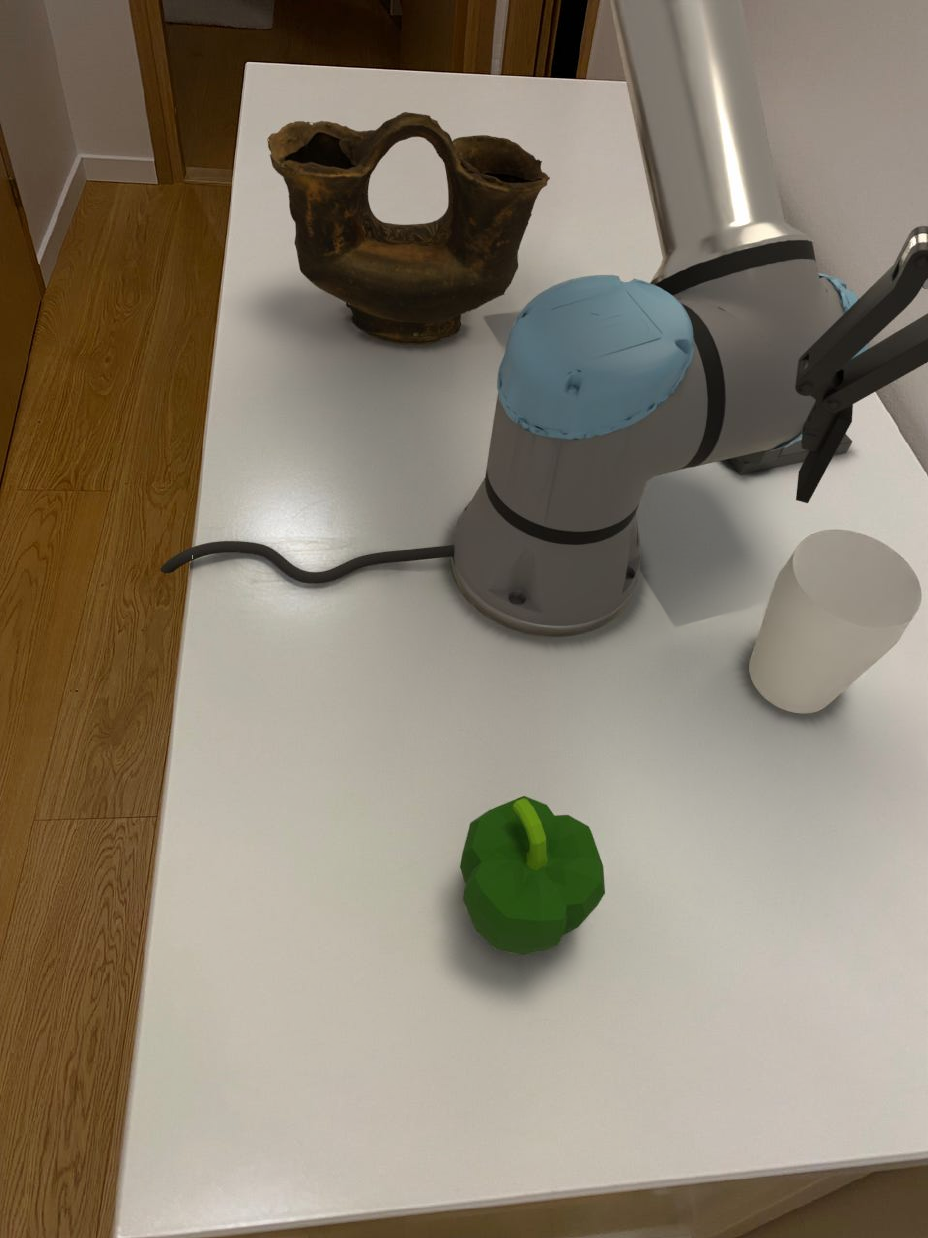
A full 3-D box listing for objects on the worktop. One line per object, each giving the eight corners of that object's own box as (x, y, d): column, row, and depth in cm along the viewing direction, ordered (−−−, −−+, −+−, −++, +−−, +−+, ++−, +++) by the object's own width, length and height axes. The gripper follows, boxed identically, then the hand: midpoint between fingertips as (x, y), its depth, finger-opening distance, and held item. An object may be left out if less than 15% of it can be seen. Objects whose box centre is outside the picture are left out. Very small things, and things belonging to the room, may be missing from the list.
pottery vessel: (274, 344, 92) (259, 137, 76) (280, 280, 98) (268, 77, 83) (529, 355, 95) (565, 157, 79) (518, 292, 101) (549, 98, 86)
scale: (733, 480, 86) (744, 455, 84) (659, 381, 94) (668, 356, 92) (849, 455, 90) (863, 431, 87) (769, 362, 98) (779, 338, 95)
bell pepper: (593, 971, 57) (632, 910, 50) (458, 978, 56) (476, 917, 49) (572, 842, 63) (605, 768, 55) (449, 846, 62) (463, 771, 54)
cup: (852, 740, 70) (931, 644, 60) (731, 713, 70) (790, 613, 61) (846, 645, 75) (917, 543, 66) (734, 620, 76) (789, 515, 66)
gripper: (1384, 186, 42) (1085, 523, 60) (860, 69, 45) (718, 426, 62) (1443, 272, 38) (1101, 610, 55) (855, 137, 40) (703, 502, 57)
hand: (898, 513), depth 59 cm, fingers open, 11 cm apart
